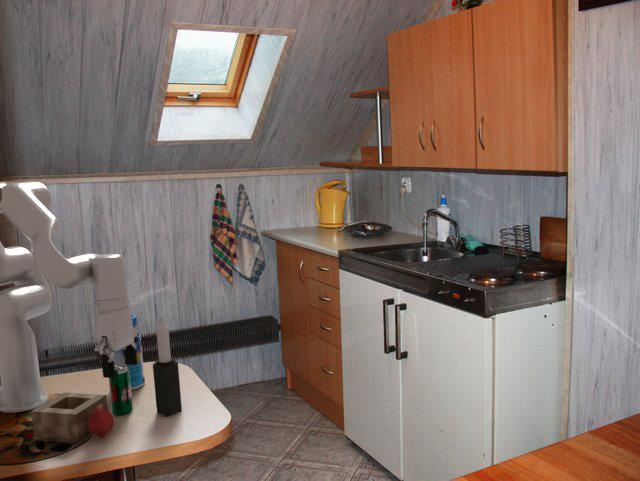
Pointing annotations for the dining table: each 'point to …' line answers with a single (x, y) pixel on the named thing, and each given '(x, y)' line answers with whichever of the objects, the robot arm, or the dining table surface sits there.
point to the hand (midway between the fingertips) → (120, 370)
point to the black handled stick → (166, 375)
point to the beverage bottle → (134, 370)
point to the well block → (66, 417)
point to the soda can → (121, 391)
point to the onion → (100, 422)
